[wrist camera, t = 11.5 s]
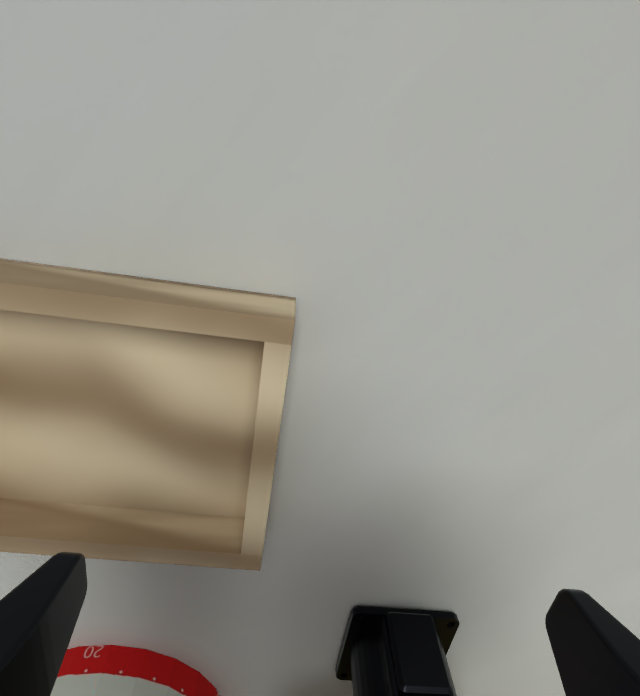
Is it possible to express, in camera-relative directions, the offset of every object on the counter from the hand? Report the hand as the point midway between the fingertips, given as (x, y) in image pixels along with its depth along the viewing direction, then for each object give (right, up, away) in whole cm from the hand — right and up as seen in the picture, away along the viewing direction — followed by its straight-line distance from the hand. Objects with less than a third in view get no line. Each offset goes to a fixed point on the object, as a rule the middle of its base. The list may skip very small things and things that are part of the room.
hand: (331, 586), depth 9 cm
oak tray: (-9, +2, +12) cm, 15 cm away
